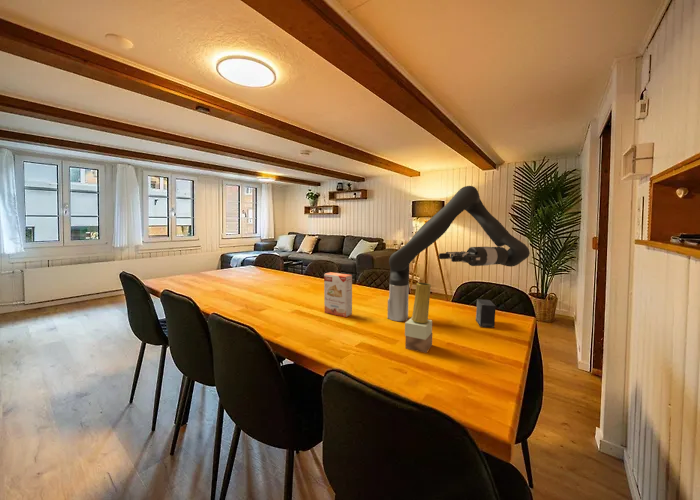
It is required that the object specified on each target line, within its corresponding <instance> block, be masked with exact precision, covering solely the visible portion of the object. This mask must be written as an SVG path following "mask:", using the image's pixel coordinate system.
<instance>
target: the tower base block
mask: <svg viewBox="0 0 700 500" xmlns="http://www.w3.org/2000/svg"><path fill="white" fill-rule="evenodd" d="M432 346H433V332H432V333H431V334H430V336H429V337H428V338H427V339H426V340H424V339H419V338H414V337H409V336H405V349H407V350H412V351H414V352H415V351H416V352H419V353H420V352H421V353H428V352H429V350H430V349H431V347H432Z"/></svg>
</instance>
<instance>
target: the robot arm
mask: <svg viewBox="0 0 700 500" xmlns="http://www.w3.org/2000/svg"><path fill="white" fill-rule="evenodd" d="M464 211H466V212H467V213H468V214H470V216H472V218H474V220H475V221H476V222H477V223H478V225H480V227H481V228H482V229H483V231H484V233H486V235H487V236H488V237H489V238H490V240H491V241H492V242H493V244H495V245H496V246H470V247H469V248H468V249H467V250H465V251H464V250H462V251H446V252H443V253H440V252H439V253H438V259H439V260H451V262H452V263H460V262H461V263H466V264H469V266H471V267H480V266H481V267H483V266H484V267H485V266H493V265H501V266H503V267H504V266H505V267H517V266H518V265H519V264H521V263H522V262H523V261H525V260H526V259H527V258H529V257H530V255H531V253H530V249H529V247H528V246H527V245H526V244H525V243H523V242H522V240H521V241H520V240H519V239H518V238H517V237H515V236H514V235H512V234H511V233H510V232H509V231H508V230H507V228H506V227H505V226H504V225H503V224H502V223H501V222H500V221H499V220H498V219H497V218H496V217H495V216H493V215H492V214H491V213H490V211H489V210H488V209H487V208H486V206H485V205H484V204H483V201H482V200H481V197H480V193H479V190H478V188H476V187H475V186H474V185H473V186H472V185H466V186H463V187H461V188H459V190H458V191H457V192H456V193H455V194H454V195H453V196H452V197H451V199H449V201H448V202H447V203H446V204H445V205H444V206H443V207H442V208H441V209H440V210H438V211H437V212H436V213H435V214H434V215H433V216H432V217H431V218H430V219H428V220H427V221H426V222H425V223H423V225H422V226H421V227H420V228H419V229H418V230H417V231H416V232H415V233H414V235H413V236H412V237H411V239H409V240H408V241H407V242H406V243H405V244H404V245H403V246H402V247H401V248H399V249H398V250H397V251H394V252H393V253H392V254H390V256H389V259H388V265H389V267H390V270H389V271H390V272H389V281H388V282H389V292H388V293H389V295H388V299H387V319H389V320H391V321H395V322H404V321H405V322H406V321H408V320H409V288H410V287H409V286H410V285H409V284H410V283H409V281H410V264H411V263H412V261H413V260H414V259H415V258H416V257H417V256H418V255H420V254H421V253H422V252H423V251H425V250H426V249H427V248H429V247H430V246H431V245H433V244H434V243H435V242H436V241H437V240H439V239H440V238H441V237H442V236H443V235H444V234H445V233H446V232H447V230H448V229H449V228H450V227H451V225H452V223H453V222H454V220H456V218H457V217H458V216H459V215H460V214H462V213H463V212H464ZM503 246H507V247H509V248H508V249H506V248H505V247H503Z"/></svg>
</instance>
